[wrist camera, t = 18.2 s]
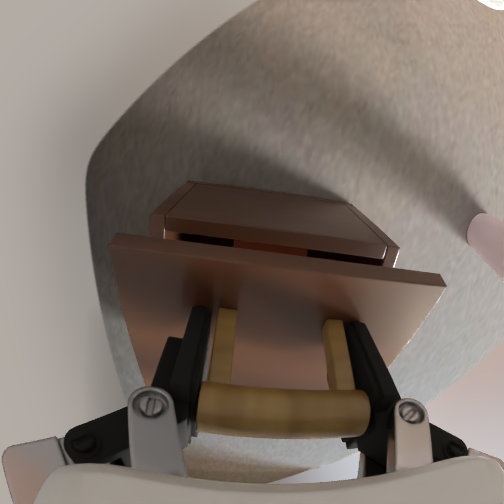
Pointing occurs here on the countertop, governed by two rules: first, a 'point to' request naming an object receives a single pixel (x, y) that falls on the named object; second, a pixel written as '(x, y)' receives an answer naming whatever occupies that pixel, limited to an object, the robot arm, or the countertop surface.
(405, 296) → the lid
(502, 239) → the smoothie
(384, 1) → the countertop surface
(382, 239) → the chest
